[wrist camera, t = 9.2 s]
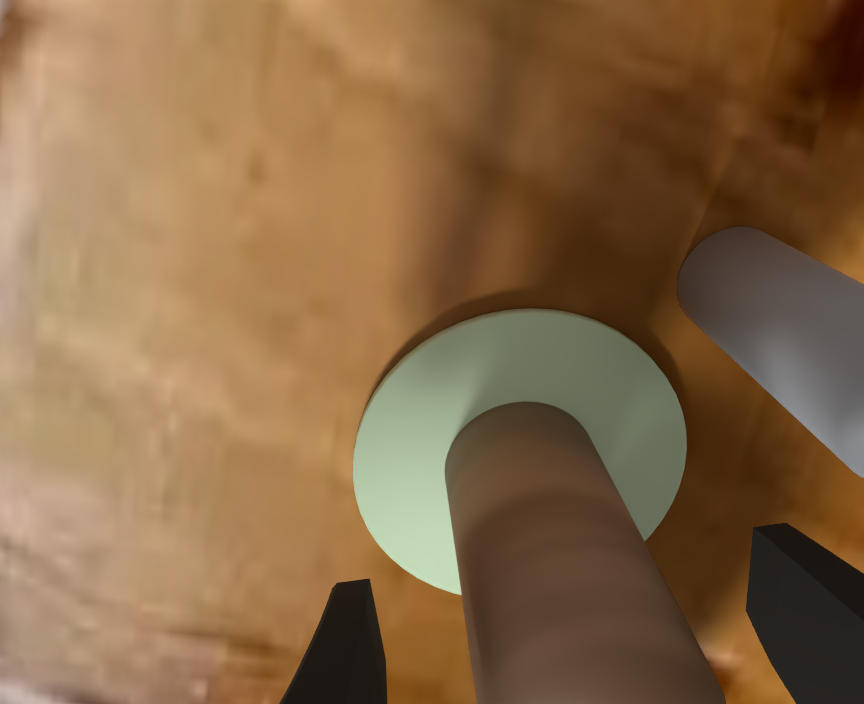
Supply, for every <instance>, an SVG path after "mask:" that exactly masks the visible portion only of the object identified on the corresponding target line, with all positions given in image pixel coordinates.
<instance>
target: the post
mask: <svg viewBox="0 0 864 704" xmlns="http://www.w3.org/2000/svg"><path fill="white" fill-rule="evenodd" d="M677 296H678V301H679V303H680V306H681V308H682V310H683V312H684V313H685V314H686V316H687V317H688V318H689V319H690V320H691V321H693V322H694V323H695V324H696V325H697V326H698V327H699V328H700V329H701V330H702V331H703V332H704V333H705V334H706V335H708V336H709V337H710V338H711V339H712V340H713V341H714V342H715V343H716V344H717V345H718V346H719V347H720V348H721V349H723V350H724V351H725V352H726V353H727V354H728V355H729V356H730V357H731V358H732V359H733V360H734V361H735V362H736V363H738V364H739V365H740V366H741V367H742V368H743V369H744V370H745V371H746V372H747V373H748V374H749V375H750V376H751V377H753V378H754V379H755V380H756V381H757V382H758V383H759V384H760V385H761V386H762V387H763V388H764V389H765V390H766V391H768V392H769V393H770V394H771V395H772V396H773V397H774V398H775V399H776V400H777V401H778V402H779V403H780V404H781V405H783V406H784V407H785V408H786V409H787V410H788V411H789V412H790V413H791V414H792V415H793V416H794V417H795V418H796V419H798V420H799V421H800V422H801V423H802V424H803V425H804V426H805V427H806V428H807V429H808V430H809V431H810V432H812V433H813V434H814V435H815V436H816V437H817V438H818V439H819V440H820V441H821V442H822V443H823V444H824V445H825V446H827V447H828V448H829V449H830V450H831V451H832V452H833V453H834V454H835V455H836V456H837V457H838V458H839V459H840V460H842V461H843V462H844V463H845V464H846V465H847V466H848V467H849V468H850V469H851V470H852V471H853V472H854V473H856V474H857V475H859V476H861V477H862V478H864V284H862V283H860V282H858V281H856V280H854V279H852V278H850V277H848V276H847V275H845V274H843V273H841V272H839V271H837V270H835V269H833V268H831V267H829V266H828V265H826V264H824V263H822V262H820V261H818V260H816V259H814V258H812V257H810V256H808V255H807V254H805V253H803V252H801V251H799V250H797V249H795V248H793V247H791V246H789V245H788V244H786V243H784V242H782V241H780V240H778V239H776V238H774V237H772V236H770V235H768V234H767V233H765V232H763V231H761V230H758V229H755V228H751V227H741V226H740V227H731V228H726V229H723V230H720V231H718V232H716V233H714V234H712V235H710V236H708V237H707V238H705V239H704V240H703V241H701V242H700V243H699V244H698V245H697V246H696V247H695V248H694V249H693V250H692V251H691V252H690V254H689V255H688V257H687V258H686V260H685V261H684V263H683V265H682V267H681V270H680V273H679V276H678V281H677Z"/></svg>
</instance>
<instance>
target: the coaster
mask: <svg viewBox="0 0 864 704" xmlns="http://www.w3.org/2000/svg"><path fill="white" fill-rule="evenodd" d="M523 401H528V402H540V403H545V404H549V405H552V406H555V407H558V408H560V409H562V410H564V411H566V412H567V413H569V414H571V415H572V416H573V417H574V418H575V419H577V420H578V421H579V422H580V423H581V425H582V426H583V427H584V428H585V430H586V431H587V433H588V435H589V437H590V438H591V440H592V442H593V444H594V446H595V448H596V450H597V452H598V454H599V456H600V457H601V459H602V461H603V463H604V465H605V467H606V469H607V471H608V473H609V475H610V477H611V478H612V480H613V482H614V484H615V486H616V488H617V490H618V492H619V494H620V496H621V498H622V499H623V501H624V503H625V505H626V507H627V509H628V511H629V513H630V515H631V517H632V519H633V520H634V522H635V524H636V526H637V528H638V530H639V532H640V534H641V536H642V538H643V539H644V541H646V540H647V538H648V537H649V536H650V535H651V534H652V533H653V532H654V530H655V529H656V528H657V526H658V525H659V524H660V522H661V521H662V520H663V518H664V517H665V515H666V513H667V511H668V510H669V508H670V506H671V505H672V503H673V501H674V498H675V496H676V493H677V491H678V489H679V486H680V483H681V479H682V476H683V472H684V468H685V461H686V452H687V438H686V427H685V421H684V416H683V412H682V409H681V406H680V403H679V401H678V398H677V395H676V393H675V391H674V390H673V388H672V386H671V384H670V383H669V381H668V379H667V377H666V376H665V375H664V374H663V372H662V371H661V370H660V369H659V367H658V366H657V365H656V364H655V362H654V361H653V360H652V359H651V358H650V356H649V355H648V354H647V353H646V352H645V351H644V350H642V349H641V348H640V347H639V346H638V345H637V344H636V343H635V342H634V341H632V340H631V339H629V338H628V337H626V336H625V335H623V334H622V333H621V332H619V331H618V330H616V329H614V328H612V327H610V326H608V325H606V324H604V323H602V322H599V321H597V320H595V319H591V318H588V317H585V316H582V315H579V314H576V313H571V312H565V311H560V310H554V309H537V308H525V309H511V310H503V311H498V312H493V313H488V314H483V315H480V316H477V317H474V318H471V319H467V320H464V321H461V322H459V323H457V324H455V325H453V326H450V327H448V328H446V329H444V330H442V331H440V332H438V333H436V334H435V335H433V336H431V337H430V338H428V339H427V340H425V341H423V342H422V343H420V344H419V345H418V346H416V347H415V348H414V349H413V350H411V351H410V352H409V353H408V354H407V355H405V356H404V357H403V358H402V359H401V360H400V361H399V362H398V363H397V364H396V365H395V366H394V367H393V368H392V369H391V370H390V371H389V372H388V373H387V375H386V376H385V377H384V379H383V380H382V382H381V383H380V384H379V386H378V387H377V388H376V390H375V391H374V393H373V395H372V397H371V399H370V401H369V402H368V404H367V406H366V408H365V410H364V413H363V416H362V419H361V421H360V424H359V427H358V431H357V436H356V441H355V446H354V460H353V481H354V490H355V496H356V499H357V503H358V506H359V510H360V513H361V515H362V517H363V519H364V522H365V524H366V526H367V528H368V530H369V531H370V533H371V534H372V536H373V537H374V539H375V540H376V542H377V543H378V544H379V546H380V547H381V548H382V549H383V550H384V551H385V552H386V554H387V555H388V556H389V557H390V558H391V559H393V560H394V561H395V562H396V563H397V564H398V565H400V566H401V567H402V568H403V569H405V570H406V571H408V572H409V573H411V574H412V575H414V576H415V577H417V578H418V579H420V580H422V581H424V582H426V583H429V584H431V585H433V586H435V587H437V588H440V589H443V590H446V591H449V592H451V593H455V594H459V595H462V594H461V587H460V580H459V573H458V566H457V559H456V552H455V545H454V538H453V531H452V524H451V517H450V510H449V503H448V496H447V489H446V483H445V461H446V457H447V453H448V451H449V449H450V446H451V444H452V442H453V441H454V439H455V437H456V436H457V435H458V433H459V432H460V431H461V430H462V429H463V428H464V427H465V426H466V425H467V424H468V423H469V422H470V421H471V420H473V419H474V418H475V417H477V416H478V415H480V414H482V413H483V412H485V411H487V410H490V409H492V408H494V407H497V406H500V405H503V404H508V403H513V402H523Z"/></svg>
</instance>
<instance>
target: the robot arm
mask: <svg viewBox="0 0 864 704" xmlns="http://www.w3.org/2000/svg"><path fill="white" fill-rule="evenodd" d="M746 612H747V614H748V616H749V618H750V620H751V623H752V625H753V627H754V629H755V631H756V633H757V636H758V638H759V640H760V642H761V644H762V646H763V648H764V650H765V652H766V654H767V656H768V658H769V660H770V662H771V664H772V666H773V667H774V669H775V670H776V672H777V674H778V675H779V677H780V679H781V680H782V682H783V683H784V685H785V686H786V688H787V690H788V691H789V693H790V694H791V696H792V698H793V699H794V701H795V702H796V704H864V574H863V573H862V572H860V571H859V570H857V569H856V568H854V567H853V566H851V565H850V564H848V563H847V562H845V561H843V560H842V559H840V558H839V557H837V556H836V555H834V554H833V553H831V552H830V551H828V550H827V549H825V548H824V547H822V546H821V545H819V544H818V543H816V542H815V541H813V540H812V539H810V538H809V537H807V536H806V535H804V534H803V533H801V532H800V531H798V530H796V529H795V528H793V527H792V526H790V525H788V524H787V523H782V524H774V525H767V526H759V527H753V538H752V549H751V560H750V571H749V582H748V593H747V604H746ZM280 704H387V682H386V659H385V654H384V649H383V644H382V639H381V634H380V628H379V623H378V618H377V613H376V608H375V603H374V598H373V593H372V588H371V583H370V579H363V580H356V581H348V582H341V583H337V584H336V585H335V586H334V587H333V588H332V591H331V594H330V596H329V599H328V602H327V605H326V607H325V610H324V612H323V615H322V617H321V620H320V622H319V625H318V627H317V629H316V631H315V634H314V636H313V638H312V640H311V643H310V645H309V647H308V649H307V651H306V653H305V655H304V657H303V659H302V661H301V663H300V666H299V668H298V670H297V672H296V674H295V676H294V678H293V680H292V682H291V684H290V685H289V687H288V689H287V691H286V693H285V695H284V696H283V698H282V700H281V702H280Z"/></svg>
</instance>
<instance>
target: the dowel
mask: <svg viewBox="0 0 864 704" xmlns="http://www.w3.org/2000/svg"><path fill="white" fill-rule="evenodd" d="M445 483H446V489H447V496H448V503H449V510H450V517H451V524H452V531H453V538H454V545H455V552H456V559H457V566H458V573H459V580H460V587H461V594H462V601H463V608H464V614H465V621H466V628H467V635H468V642H469V649H470V656H471V663H472V670H473V677H474V684H475V691H476V698H477V704H726V701H725V697H724V694H723V691H722V689H721V687H720V684H719V683H718V681H717V679H716V677H715V675H714V673H713V671H712V669H711V667H710V665H709V663H708V662H707V660H706V658H705V656H704V654H703V652H702V650H701V648H700V646H699V644H698V642H697V641H696V639H695V637H694V635H693V633H692V631H691V629H690V627H689V625H688V623H687V621H686V620H685V618H684V616H683V614H682V612H681V610H680V608H679V606H678V604H677V602H676V601H675V599H674V597H673V595H672V593H671V591H670V589H669V587H668V585H667V583H666V581H665V580H664V578H663V576H662V574H661V572H660V570H659V568H658V566H657V564H656V562H655V560H654V559H653V557H652V555H651V553H650V551H649V549H648V547H647V545H646V543H645V541H644V539H643V538H642V536H641V534H640V532H639V530H638V528H637V526H636V524H635V522H634V520H633V519H632V517H631V515H630V513H629V511H628V509H627V507H626V505H625V503H624V501H623V499H622V498H621V496H620V494H619V492H618V490H617V488H616V486H615V484H614V482H613V480H612V478H611V477H610V475H609V473H608V471H607V469H606V467H605V465H604V463H603V461H602V459H601V457H600V456H599V454H598V452H597V450H596V448H595V446H594V444H593V442H592V440H591V438H590V437H589V435H588V433H587V431H586V430H585V428H584V427H583V426H582V425H581V423H580V422H579V421H578V420H577V419H575V418H574V417H573V416H572V415H571V414H569V413H567V412H566V411H564V410H562V409H560V408H558V407H555V406H552V405H549V404H545V403H540V402H528V401H523V402H513V403H508V404H503V405H500V406H497V407H494V408H492V409H490V410H487V411H485V412H483V413H482V414H480V415H478V416H477V417H475V418H474V419H473V420H471V421H470V422H469V423H468V424H467V425H466V426H465V427H464V428H463V429H462V430H461V431H460V432H459V433H458V435H457V436H456V437H455V439H454V441H453V442H452V444H451V446H450V449H449V451H448V453H447V457H446V461H445Z"/></svg>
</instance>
